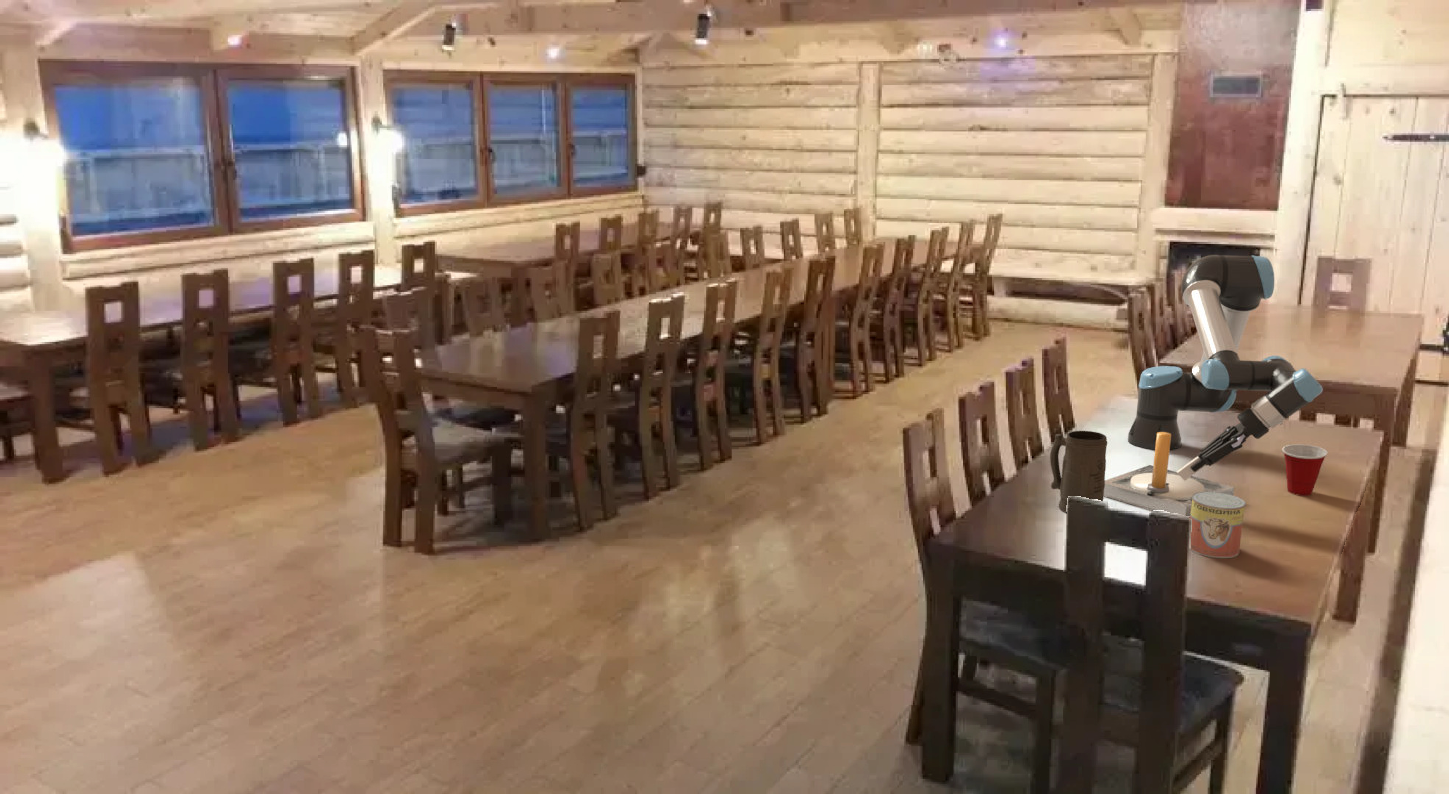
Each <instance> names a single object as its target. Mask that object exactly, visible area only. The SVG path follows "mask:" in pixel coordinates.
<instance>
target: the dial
mask: <svg viewBox="0 0 1449 794" xmlns="http://www.w3.org/2000/svg"><path fill="white" fill-rule="evenodd" d="M1170 441H1171V434H1170V433H1166V432H1158V433H1157V437H1156V447H1155V449H1154V456H1153V457H1154V458H1153V465H1152V466H1153V473H1143V474H1138V475H1135V476H1133V477H1132V478H1131V483H1130V486H1131V488H1133V489H1136V490H1140V491H1144V492H1147V493H1148V492H1150V491H1152V492H1154V495H1158V496H1161V497H1165V498H1168V499H1172V500H1190V499H1191V497H1192V496H1193V495H1194V494H1195V493H1199V492H1204V486H1203V485H1202V484H1201V483H1200V482H1198V481H1196V480H1193V479H1191V478H1188V479H1187V480H1185V481H1184V480H1183V479H1182V477H1181V476H1179V475H1174V474H1167V470H1169V469H1168V468H1169V458H1170V452H1171V451H1170V450H1171V449H1170Z"/></svg>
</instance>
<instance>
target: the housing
mask: <svg viewBox="0 0 1449 794" xmlns="http://www.w3.org/2000/svg"><path fill="white" fill-rule="evenodd" d="M1143 473H1153V465H1150V464H1148V465H1146V466H1142V467H1139V468H1137V469H1135V470H1131V471H1129V472H1126V473H1123V474H1120V475H1118V476H1117V475H1116V476H1115V477H1111V478H1109V479H1105V488H1104V496H1103V497H1106V498H1110V499H1113V500H1116V499H1117V500H1116V501H1119V500H1120V501H1119V502H1123V503H1126V504H1129V505H1133V506H1137V507H1140V508H1142V509H1147V510H1149V511H1153V510H1164V511H1167V512H1170V513H1178V514H1181V515H1184V516H1190V515H1191V506H1192V497H1191V499H1190V500H1172V499H1168V498H1165V497H1161V496H1158V495H1154V492H1152V491H1150V492H1148V493H1147V492H1144V491H1140V490H1136V489H1133V488H1131V486H1130V483H1131V478H1132V477H1133V476H1135V475H1138V474H1143ZM1167 474H1174V475H1179V474H1178V473H1177V471H1175V470H1171V469H1170V470H1169V469H1167ZM1179 476H1180V475H1179ZM1189 478H1191V479H1193V480H1196V481H1198V482H1200V483H1201V484H1202V485H1203V486H1204V492H1219V493H1225V494H1230V495H1233V496H1234V494H1235V493H1234V491H1235V486H1231V485H1228V484H1224V483H1220V482H1215V481H1213V480H1208V479H1205V478H1200V477H1198V476H1194V475H1192V476H1191V477H1189Z"/></svg>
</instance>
